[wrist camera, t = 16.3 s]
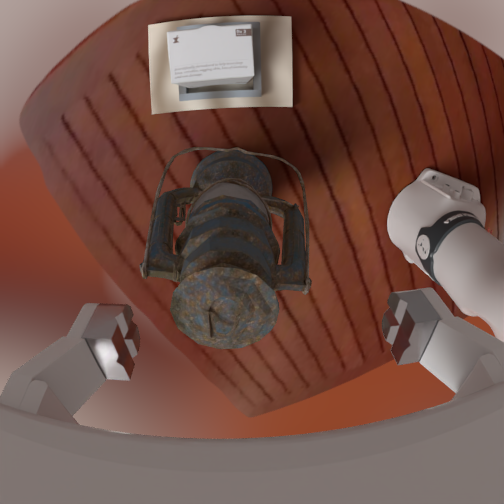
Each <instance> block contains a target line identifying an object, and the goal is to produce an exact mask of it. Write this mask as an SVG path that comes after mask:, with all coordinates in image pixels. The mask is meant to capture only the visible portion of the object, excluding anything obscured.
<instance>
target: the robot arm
mask: <svg viewBox="0 0 504 504" xmlns="http://www.w3.org/2000/svg"><path fill="white" fill-rule="evenodd" d="M433 176H434V178H433V179H432V177H433ZM485 220H486V212H485V208H484V206H483V205H482V204H481V203H480V193H479V189H478V188H477V187H475V186H473V185H471V184H469V183H466V182H464V181H461V180H459V179H456V178H454V177H451V176H449V175H446V174H443V173H441V172H438V171H435V170H433V169H430V168H426V169H425V170H423V172H422V173H421V174H420V175H419V177H418V178H417V180H416V181H414V182H413V183H412V184H410V185H408V186H407V187H406V188H404V189H403V190H402V191H401V192H400V193H399V194H398V196H397V197H396V198H395V200H394V202H393V204H392V206H391V208H390V211H389V214H388V220H387V228H388V233H389V236H390V239H391V240H392V242H393V243H394V244H395V245H396V246H397V247H398V248H399V249H401V250H402V251H403V254H404V256H405V258H406V260H407V261H408V262H410V263H415V264H416V265H417V266H418V267H419V268H420V269H422V270H423V271H424V272H425V273H426V274H427V275H429V276H430V278H431V279H432V280H433V281H435V282H436V283H437V284H438V285H440V286H442V287H443V288H444V289H445V291H446V292H447V293H448V294H449V296H450V297H451V298H452V299H453V301H454V302H455V303H456V305H457V306H458V307H459V309H460V310H461V311H462V312H463V313H465V314H466V315H469V316H479V317H481V318H482V319H483V320H485V321H486V322H487V323H488V324H489V325H490V327H491V328H492V330H493V332H494V334H495V337H496V338H495V337H493V336H492V335H490V334H488V333H486V332H485V331H483V330H481V329H479V328H477V327H475V326H474V325H472V324H470V323H468V322H467V321H465V320H463V319H461V318H459V317H454V316H453V314H452V313H451V312H450V310H449V309H448V308H447V306H446V305H445V304H444V302H443V301H442V300H441V298H440V297H439V296H438V294H437V293H436V292H435V291H434V289H432V288H423V289H417V290H410V291H401V292H392V293H391V294H390V296H389V299H388V302H387V303H388V305H389V307H390V308H389V309H388V310H387V311H386V312H385V313H384V316H383V319H382V331H383V335H384V337H385V339H386V341H387V342H389V343H390V344H392V348H391V352H392V354H393V356H394V358H395V360H396V362H397V365H402V364H408V363H413V362H419V361H420V364H422V365H423V366H424V367H425V368H426V369H428V370H429V371H430V372H431V373H432V374H434V375H435V376H436V377H437V378H438V379H440V380H441V381H442V382H443V383H444V384H446V385H447V386H448V387H449V388H450V389H452V390H453V391H454V392H455V393H456V394H455V396H454V397H453V399H452V400H451V401H450V402H447V403H444V404H441V405H438V406H435V407H431V408H429V409H425V410H421V411H418V412H414V413H411V414H407V415H404V416H399V417H396V418H392V419H387V420H383V421H379V422H374V423H369V424H364V425H359V426H354V427H348V428H343V429H337V430H330V431H323V432H316V433H308V434H300V435H290V436H279V437H264V438H245V439H244V438H242V439H197V438H176V437H175V438H174V437H161V436H150V435H141V434H131V433H124V432H117V431H111V430H104V429H98V428H93V427H88V426H82V425H79V424H78V422H77V421H76V420H75V419H74V418H73V415H74V414H75V413H76V412H77V411H78V410H79V409H80V408H81V406H82V405H83V404H84V403H85V402H86V401H87V400H88V399H89V398H90V397H91V396H92V395H93V394H94V393H95V392H96V391H97V390H98V388H99V387H100V386H101V385H102V384H103V383H104V382H105V381H106V379H112V380H130V379H131V375H132V372H133V368H134V365H135V364H134V362H133V359H132V358H133V357H134V356H136V355H137V354H138V351H139V347H140V336H139V330H138V327H137V325H136V324H135V323H133V321H131V320H132V317H133V312H132V309H131V307H130V306H129V305H127V304H126V305H125V304H101V303H100V304H95V303H87V304H85V305H84V306H83V307H82V309H81V311H80V313H79V315H78V316H77V318H76V320H75V322H74V324H73V326H72V327H71V329H70V331H69V333H68V335H67V337H62V338H60V339H59V340H57V341H56V342H55V343H53V344H52V345H50V346H49V347H47V348H46V349H45V350H43V351H42V352H40V353H39V354H38V355H36V356H35V357H33V358H32V359H31V360H29V361H28V362H26V363H25V364H24V365H22V366H21V367H20V368H18V369H17V370H15V371H14V372H13V373H12V374H11V376H10V378H9V380H8V382H7V383H6V386H5V388H4V390H3V392H2V394H1V396H0V504H504V244H503V243H501V242H500V241H499V240H498V239H496V238H495V237H494V236H492V235H491V234H492V230H491V232H490V233H489V228H488V229H487V231H486V230H485V228H484V226H485Z"/></svg>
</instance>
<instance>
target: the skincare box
mask: <svg viewBox="0 0 504 504" xmlns="http://www.w3.org/2000/svg"><path fill="white" fill-rule="evenodd" d="M167 45H168V57H169V67H170V76H171V83H172V84H177V85H180V86H183V87H187V88H197V87H203V86H211V85H223V84H246V83H247V82H248V81H249V80H250V79H251V78H252V77H253V76H254V55H253V35H252V24H239V25H226V26H215V25H208V26H203V27H201V28H195V29H187V30H176V31H168V32H167Z"/></svg>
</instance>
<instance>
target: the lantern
mask: <svg viewBox="0 0 504 504" xmlns="http://www.w3.org/2000/svg"><path fill="white" fill-rule="evenodd" d="M203 149H206V150H215V151H216V152H214V153H213V154H211V155H209V156H207V157H205V158H204V159H203V160H202V161H201V162H200V163H199V164H198V165H197V167H196V169H195V171H194V172H193V175H192V179H191V182H190V188H180V189H175V190H172V191H169V192H164V193H163V194H162V195H161V197H159V194H160V191H161V187H162V184H163V181H164V178H165V175H166V172H167V170H168V168H169V167H170V165H171V163H172V162H173V160H174V158H175V157H176V156H178V155H181V154H184V153H187V152H190V151H194V150H203ZM254 155H259V156H266V157H270V158H273V159H277V160H280V161H282V162H284V163H286V164H287V165H289V166H291V167H292V168H293V169H294V170H295V171H296V173H297V174H298V177H299V180H300V183H301V186H302V189H303V200H304V214H305V229H306V251H305V239H304V219H303V217H302V215H301V213H300V211H299V209H298V207H299V205H297V204H294V205H292V204H290V203H288V202H287V201H285V200H282V199H279V198H276V197H272V180H271V176H270V173H269V171H268V169H267V167H266V166H265V165H264V163H263V162H262V161H260V160H259V159H258V158H257V157H256V156H254ZM158 197H159V198H158ZM190 203H192V205H191V207H190V208H189V210H188V214H187V218H186V227H185V229H184V230H183V232H182V233H181V235H180V236H179V237H178V239H177V240H176V244H175V251H176V255H174V254H173V249H172V248H173V227H174V223H175V224H176V225H177V226H178V225H181V224H182V222H183V221H185V206H186V204H190ZM177 207H180V212H179V217H176V216H177ZM182 207H183V208H182ZM193 207H194V208H193ZM192 208H193V210H192ZM191 210H192V213H191ZM182 212H183V217H182ZM270 213H273V214H276V215H278V216H280V217H282V218H284V229H283V246H282V262H281V265H277V264H278V259H279V255H280V248H279V244H278V242H277V240H276V238H275V236H274V234H273V232H272V219H271V214H270ZM267 214H268V215H267ZM268 217H269V219H268ZM176 220H178V221H180V222H176ZM140 271H141V273H142V277H143V279H147V277H148V276H151V277H160V278H166V279H170V280H173V281H176V282H177V281H178V282H180V285H179V286H178V287H177V288H176V290H175V291H174V292H173V296H172V302H171V308H170V311H171V313H172V316H173V318H174V320H175V323H176V325H177V327H178V329H179V330H181V331H182V332H183V333H185V334H186V335H187V336H189V337H190V338H191V339H193V340H194V341H195V342H197V343H198V344H202V345H206V346H210V347H214V348H218V349H232V348H242V347H245V346H247V345H250V344H252V343H255V342H257V341H259V340H261V339H262V338H263V337H264V336H265V335H266V334H267V333H269V332H270V331H271V330H272V328H273V327H274V325H275V324H276V321H277V317H278V313H279V303H278V300H277V297H276V294H275V292H274V291H277V290H280V291H281V290H295V291H302V292H303V293H304V294H307V293H308V292H309V289H310V287H311V283H312V281H311V279H310V278H309V218H308V210H307V202H306V194H305V187H304V182H303V179H302V176H301V174H300V172H299V171H298V169H297V168H296V167H294V166H293V165H291V164H290V163H289V162H287V161H286V160H284V159H282V158H279V157H277V156H274V155H268V154H261V153H254V152H247V151H245V150H243V149H241V148H239V147H235V148H231V149H220V148H207V147H194V148H189V149H185V150H183V151H181V152H179V153H178V154H176V155H174V156H173V157H172V158H171V159H170V161H169V162H168V164H167V166H166V167H165V170H164V172H163V175H162V178H161V180H160V183H159V186H158V188H157V192H156V196H155V200H154V205H153V209H152V215H151V220H150V226H149V232H148V238H147V244H146V250H145V257H144V261H143V262H142V263H141V264H140Z"/></svg>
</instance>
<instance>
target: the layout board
mask: <svg viewBox="0 0 504 504" xmlns="http://www.w3.org/2000/svg"><path fill="white" fill-rule="evenodd" d="M239 24H252V35H253V55H254V76H253V77H252V78H251V79H250V80H249V81H248V82H247V83H246V84H223V85H211V86H203V87H197V88H187V87H183V86H180V85H177V84H172V83H171V76H170V67H169V57H168V45H167V32H168V31H176V30H187V29H195V28H201V27H203V26H208V25H215V26H226V25H239ZM148 35H149V70H150V89H151V105H152V114H159V113H167V112H177V111H187V110H199V109H213V108H232V107H293V89H292V23H291V17H290V16H223V17H208V18H197V19H187V20H179V21H172V22H165V23H159V24H153V25H148Z"/></svg>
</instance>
